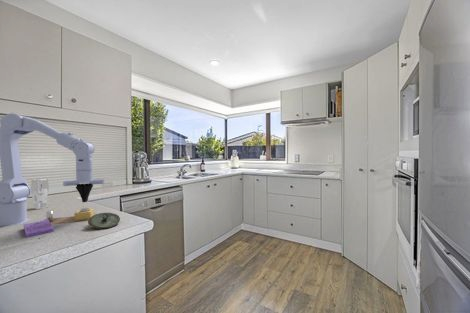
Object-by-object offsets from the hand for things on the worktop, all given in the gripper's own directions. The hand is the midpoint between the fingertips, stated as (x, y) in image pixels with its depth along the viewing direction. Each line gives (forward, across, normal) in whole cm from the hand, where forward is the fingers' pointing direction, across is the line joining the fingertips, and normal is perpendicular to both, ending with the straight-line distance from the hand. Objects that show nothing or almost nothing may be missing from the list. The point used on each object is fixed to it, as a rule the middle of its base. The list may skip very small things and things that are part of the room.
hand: (85, 201), depth 90 cm
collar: (+7, 0, -1) cm, 7 cm away
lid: (+8, +10, -13) cm, 18 cm away
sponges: (+7, -11, -12) cm, 18 cm away
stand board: (+7, -6, -1) cm, 10 cm away
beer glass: (+8, -30, +34) cm, 46 cm away
